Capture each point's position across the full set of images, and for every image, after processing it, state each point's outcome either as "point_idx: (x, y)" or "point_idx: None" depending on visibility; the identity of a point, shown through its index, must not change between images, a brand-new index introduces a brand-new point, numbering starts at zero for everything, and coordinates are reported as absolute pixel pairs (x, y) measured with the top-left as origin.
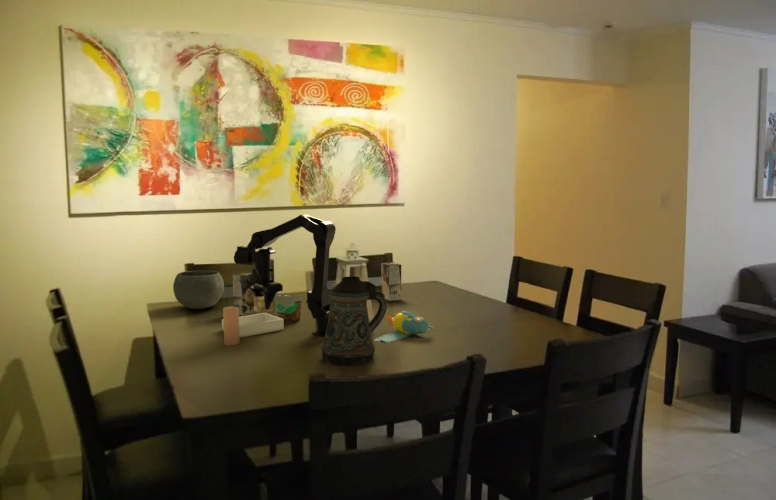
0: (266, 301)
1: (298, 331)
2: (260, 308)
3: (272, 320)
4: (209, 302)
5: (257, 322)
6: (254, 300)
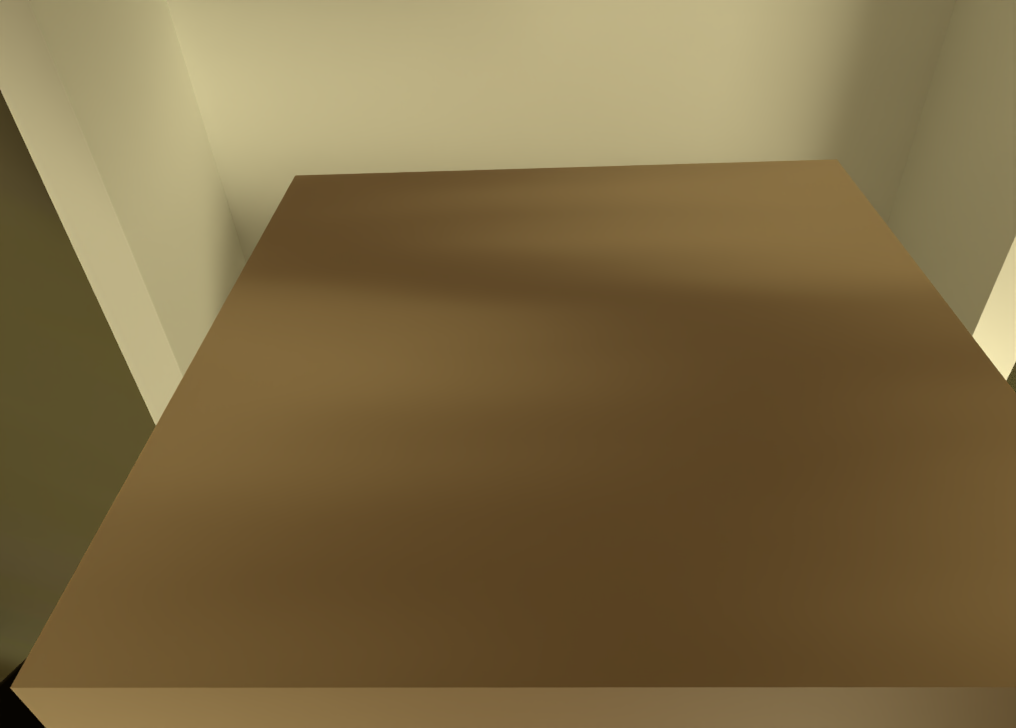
0: (14, 703)
1: (58, 438)
2: (252, 267)
3: (111, 276)
4: None
5: (909, 192)
6: (973, 480)
